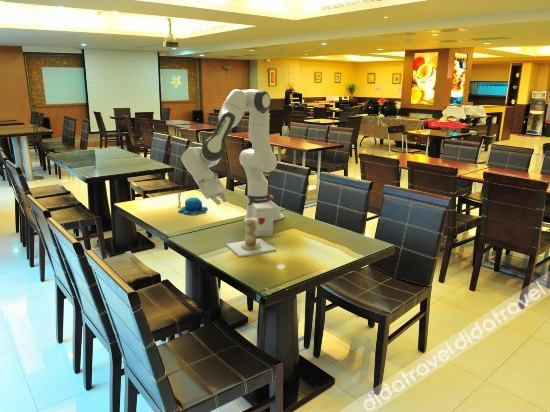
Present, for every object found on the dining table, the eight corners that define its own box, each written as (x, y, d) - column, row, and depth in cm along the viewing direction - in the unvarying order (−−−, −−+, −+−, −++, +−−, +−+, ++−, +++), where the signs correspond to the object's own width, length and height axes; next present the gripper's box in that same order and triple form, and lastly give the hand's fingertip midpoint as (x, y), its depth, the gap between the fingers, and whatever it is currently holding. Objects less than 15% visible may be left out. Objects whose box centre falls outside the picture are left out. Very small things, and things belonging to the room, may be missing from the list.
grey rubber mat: (260, 239, 206) (260, 238, 205) (275, 250, 192) (275, 249, 192) (226, 245, 198) (226, 243, 197) (239, 257, 184) (239, 255, 184)
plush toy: (213, 211, 253) (213, 198, 251) (190, 217, 241) (190, 203, 239) (196, 206, 264) (195, 193, 262) (173, 211, 252) (172, 198, 250)
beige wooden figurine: (255, 241, 201) (255, 215, 197) (263, 248, 193) (264, 221, 189) (237, 244, 196) (237, 218, 193) (245, 251, 189) (246, 223, 185)
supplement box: (255, 237, 209) (256, 208, 205) (252, 231, 218) (252, 203, 214) (273, 235, 212) (273, 207, 208) (268, 230, 220) (269, 202, 216)
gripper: (202, 176, 186) (220, 201, 186) (217, 173, 205) (234, 196, 205) (191, 184, 187) (210, 210, 187) (207, 181, 207) (224, 203, 207)
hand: (222, 202), depth 196 cm, fingers open, 8 cm apart
